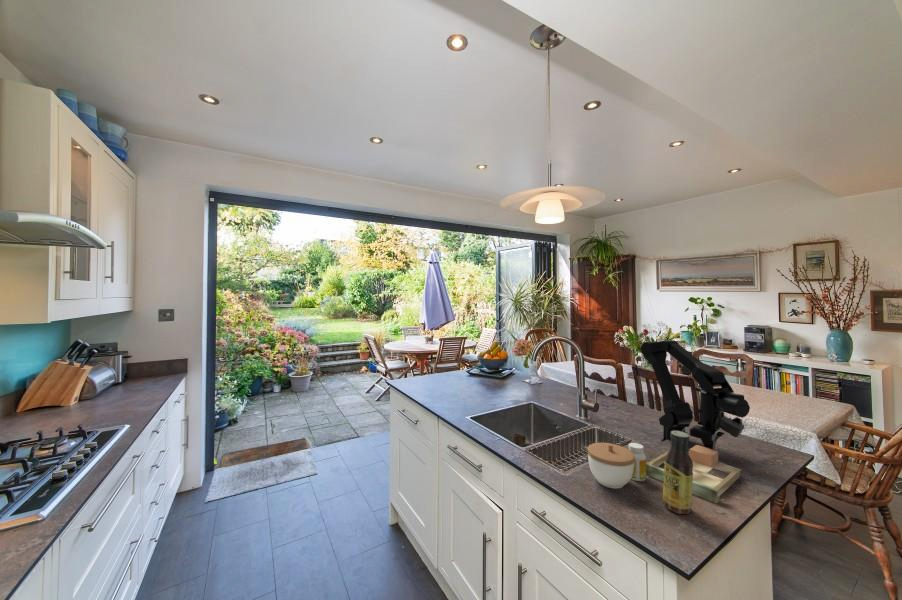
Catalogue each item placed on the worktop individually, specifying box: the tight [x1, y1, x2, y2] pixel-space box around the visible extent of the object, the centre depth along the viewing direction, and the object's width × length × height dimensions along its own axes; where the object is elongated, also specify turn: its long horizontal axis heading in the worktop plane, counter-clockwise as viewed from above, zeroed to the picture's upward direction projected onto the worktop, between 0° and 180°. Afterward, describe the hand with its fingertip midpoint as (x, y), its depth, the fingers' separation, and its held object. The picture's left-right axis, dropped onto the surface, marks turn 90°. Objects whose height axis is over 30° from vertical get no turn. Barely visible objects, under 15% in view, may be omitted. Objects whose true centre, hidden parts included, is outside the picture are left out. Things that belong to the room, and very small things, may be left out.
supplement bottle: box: [628, 442, 647, 482], centre depth 103 cm, size 5×5×10 cm
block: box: [688, 444, 719, 467], centre depth 111 cm, size 6×6×4 cm
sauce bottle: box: [662, 431, 693, 515], centre depth 88 cm, size 7×6×20 cm
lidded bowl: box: [587, 442, 635, 490], centre depth 101 cm, size 13×13×11 cm
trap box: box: [646, 450, 742, 504], centre depth 105 cm, size 18×25×3 cm
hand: (710, 453), depth 114 cm, fingers closed
